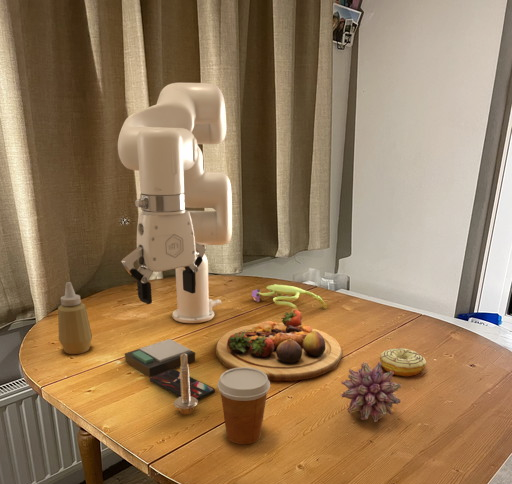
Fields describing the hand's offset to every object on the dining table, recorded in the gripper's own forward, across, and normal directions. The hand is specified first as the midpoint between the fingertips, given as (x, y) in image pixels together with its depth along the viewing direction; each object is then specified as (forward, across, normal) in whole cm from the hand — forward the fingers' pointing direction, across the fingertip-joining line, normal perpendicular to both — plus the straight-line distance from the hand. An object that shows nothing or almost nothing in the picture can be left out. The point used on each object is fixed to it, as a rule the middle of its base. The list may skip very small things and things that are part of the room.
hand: (168, 296), depth 94 cm
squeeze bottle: (+24, -2, +40) cm, 47 cm away
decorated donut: (+24, +51, -21) cm, 60 cm away
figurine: (+24, +65, +30) cm, 75 cm away
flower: (+24, +27, -28) cm, 46 cm away
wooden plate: (+24, +35, +4) cm, 43 cm away
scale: (+24, +10, +20) cm, 33 cm away
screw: (+24, +1, -3) cm, 24 cm away
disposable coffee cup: (+24, +4, -17) cm, 30 cm away
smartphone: (+24, +6, +6) cm, 25 cm away
